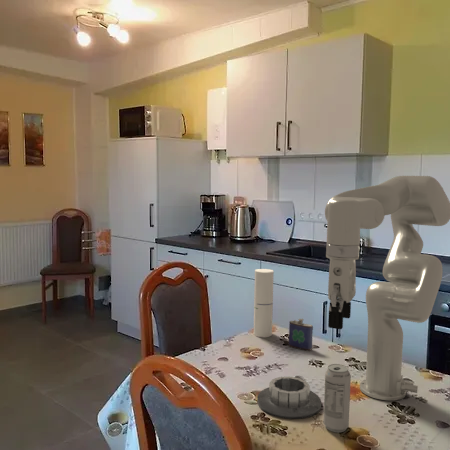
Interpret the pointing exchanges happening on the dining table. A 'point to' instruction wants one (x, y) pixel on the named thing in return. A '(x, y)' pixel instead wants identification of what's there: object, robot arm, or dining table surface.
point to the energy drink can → (337, 398)
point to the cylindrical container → (263, 302)
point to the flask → (300, 335)
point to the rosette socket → (289, 399)
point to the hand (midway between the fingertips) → (339, 322)
